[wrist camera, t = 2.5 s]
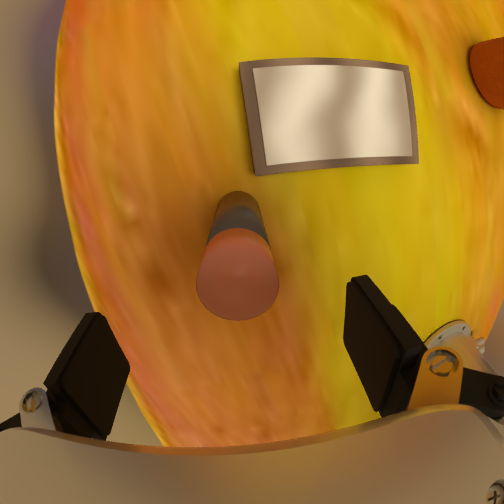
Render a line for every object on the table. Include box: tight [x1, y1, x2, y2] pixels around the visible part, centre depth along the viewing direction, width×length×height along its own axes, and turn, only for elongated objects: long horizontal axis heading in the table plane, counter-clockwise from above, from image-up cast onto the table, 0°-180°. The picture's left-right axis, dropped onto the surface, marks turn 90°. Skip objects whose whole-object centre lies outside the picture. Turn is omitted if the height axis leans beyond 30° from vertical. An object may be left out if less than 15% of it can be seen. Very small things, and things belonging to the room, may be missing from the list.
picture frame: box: [239, 58, 419, 176], centre depth 21 cm, size 16×10×3 cm, turn 98°
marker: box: [196, 191, 279, 321], centre depth 20 cm, size 4×4×14 cm
